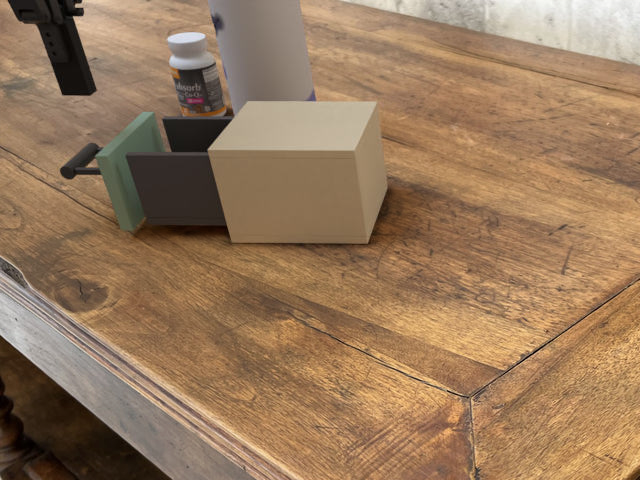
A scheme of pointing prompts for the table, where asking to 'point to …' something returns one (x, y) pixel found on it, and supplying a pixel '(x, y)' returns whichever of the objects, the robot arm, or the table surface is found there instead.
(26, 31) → the table surface
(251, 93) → the container
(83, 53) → the robot arm
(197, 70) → the pill bottle
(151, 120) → the drawer
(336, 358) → the table surface
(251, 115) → the cabinet
